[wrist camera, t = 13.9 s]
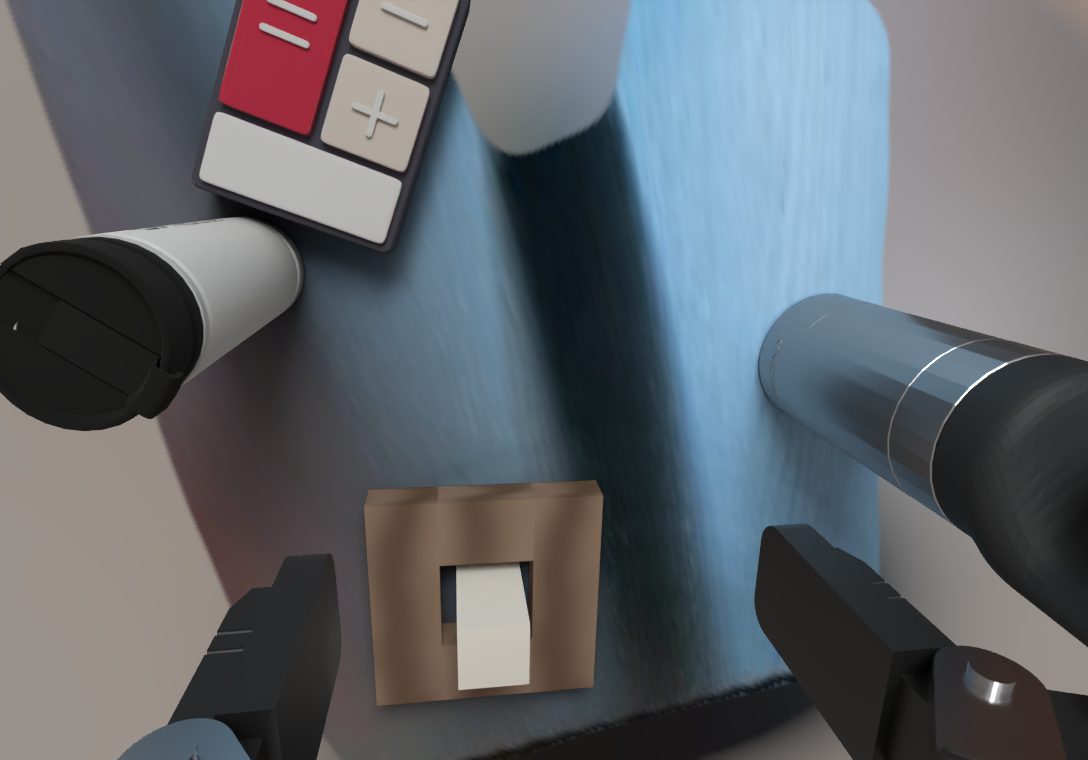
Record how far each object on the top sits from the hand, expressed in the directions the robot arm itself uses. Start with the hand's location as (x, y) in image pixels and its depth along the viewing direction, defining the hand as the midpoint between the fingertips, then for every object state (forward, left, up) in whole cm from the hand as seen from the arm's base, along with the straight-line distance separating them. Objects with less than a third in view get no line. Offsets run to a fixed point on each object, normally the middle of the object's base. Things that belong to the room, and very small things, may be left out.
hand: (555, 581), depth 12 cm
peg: (0, +21, -31) cm, 38 cm away
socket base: (0, +21, -31) cm, 38 cm away
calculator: (+8, -12, -32) cm, 35 cm away
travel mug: (+14, -2, -31) cm, 34 cm away
